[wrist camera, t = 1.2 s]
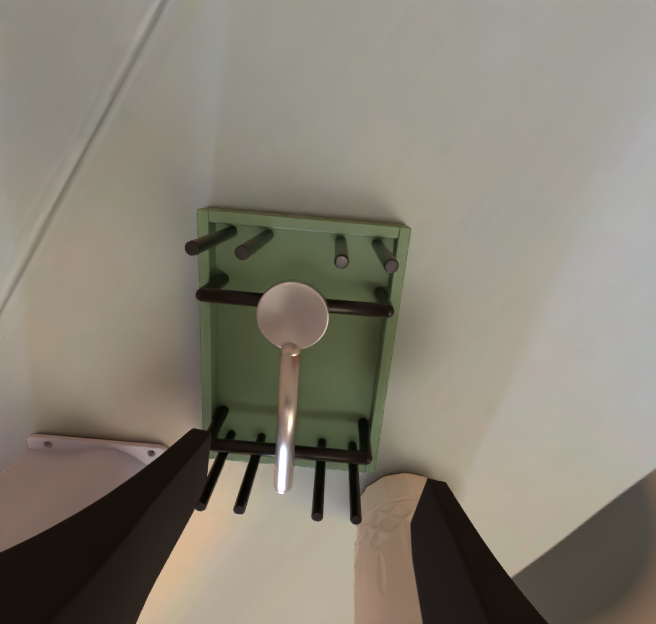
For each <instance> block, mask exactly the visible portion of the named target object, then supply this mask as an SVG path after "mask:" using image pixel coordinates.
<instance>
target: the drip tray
mask: <svg viewBox="0 0 656 624" xmlns="http://www.w3.org/2000/svg"><path fill="white" fill-rule="evenodd" d="M197 225H198V238H200V237H202V236H205V235H208V234H211V233H213V232H216V231H219V230H222V229H224V228H227V227H230V226H233V227H235V228H236V229H237V235H236V236H235V237H233V238H231V239H229V240H227V241H225V242H223V243H221V244H219V245H217V246H215V247H212V248H210V249H208V250H206V251H204V252H202V253H200V254H198V263H199V288H201V287H202V286H203V285H205V284H206V283H207V282H209V281H210V280H212V279H213V278H214V277H216V276H217V275H218V274H220V273H225V274H227V275H228V277H229V282H228V283H227V284H226V285H225V286H224V287H223V288H222V289H224V290H235V291H247V292H258V293H265V291H266V290H267V289H268V288H269V287H270V286H272V285H273V284H275V283H277V282H279V281H282V280H286V279H299V280H303V281H306V282H308V283H310V284H312V285H314V286H315V287H316V288H318V289H319V290H320V291H321V293H322V294H323V295H324V297H325V298H326V299H337V300H349V301H360V302H372V303H377V302H376V299H375V296H374V291H375V289H376V288H378V287H383V288H384V289H385V290H386V292H387V294H388V296H389V299H390V301H391V303H392V305H393V307H394V311H395V312H394V315H393V316H392V317H391V318H378V317H367V316H355V315H344V314H333V313H329V322H328V326H327V329H326V331H325V333H324V335H323V336H322V337H321V338H320V340H319V341H317V342H316V343H315V344H313V345H312V346H310V347H307V348H304V349H301V360H300V375H299V390H298V405H297V420H296V435H295V445H301V446H312V447H317V443H318V440H319V439H325V440H326V442H327V445H326V448H335V449H346V450H348V443H349V442H351V441H354V442H356V444H357V450H358V451H360V448H359V436H358V423H357V422H358V420H359V419H360V418H366V419H367V420H368V423H369V431H370V439H371V447H372V455H373V460H372V462H371V463H370V464H368V465H364V464H358V469H359V472H366V473H374V471H375V465H376V458H377V451H378V445H379V438H380V432H381V425H382V418H383V412H384V405H385V399H386V392H387V385H388V379H389V372H390V365H391V359H392V352H393V346H394V339H395V332H396V326H397V319H398V313H399V306H400V299H401V293H402V286H403V279H404V273H405V266H406V260H407V253H408V246H409V240H410V233H411V228H410V227H408V226H406V225H404V224H392V223H381V222H369V221H358V220H347V219H335V218H324V217H313V216H301V215H290V214H279V213H267V212H256V211H245V210H233V209H222V208H211V207H208V208H202V209H197ZM265 230H271V231H272V232H273V234H274V237H273V239H272V240H270V241H269V242H268V243H267V244H265V245H264V246H263V247H262V248H260V249H259V250H258V251H256V252H255V253H254V254H253V255H251V256H250V257H249V258H247V259H246V260H239V259H238V258H237V257H236V256H235V249H236V248H237V247H238V246H239V245H241V244H243V243H244V242H246V241H248V240H250V239H251V238H253V237H255V236H256V235H258V234H260V233H261V232H263V231H265ZM339 236H343V237H345V238H346V242H347V249H348V256H349V265H348V266H347V267H346V268H344V269H339V268H337V267H336V266H335V264H334V257H335V241H336V238H337V237H339ZM376 239H379V240H381V241H382V242H383V244H384V245H385V246H386V247H387V249H388V250H389V251H390V252H391V254H392V255H393V256H394V257H395V259H396V260H397V261H398V263H399V268H398V270H397V271H396V272H395V273H388V272H386V271H385V269H384V267H383V266H382V264H381V262H380V260H379V258H378V257H377V255H376V253H375V251H374V249H373V248H372V242H373V241H374V240H376ZM199 302H200V301H199ZM256 313H257V307H253V306H242V305H230V304H219V303H208V302H200V340H201V378H202V417H203V430H205V431H207V429H208V427H209V425H210V423H211V421H212V420H213V418H214V416H215V414H216V412H217V410H218V409H219V407H220V406H227V407H228V409H229V413H228V415H227V417H226V419H225V421H224V423H223V425H222V427H221V429H220V432H219V434H218V436H217V438H221V439H225V437H226V434H227V432H228V431H230V430H232V431H234V432H235V433H236V437H235V439H234V440H244V441H256V438H257V435H258V434H259V433H264V434H265V435H266V440H265V442H267V443H276V431H277V410H278V389H279V368H280V350H281V347H278V346H276V345H274V344H273V343H271V342H270V341H269V340H268V339H267V338H266V337H265V336H264V335H263V333H262V332H261V330H260V328H259V326H258V322H257V315H256ZM217 454H218V452H216V451H210V453H209V459H216V456H217ZM250 457H251V454H239V453H229V454H228V456H227V458H226V460H228V461H240V462H249V460H250ZM259 463H263V464H274V465H275V457H273V456H262V455H261V457H260V461H259ZM293 466H297V467H308V468H315V466H316V460H307V459H296V458H294V465H293ZM325 469H331V470H342V471H349V468H348V463H342V462H330V461H326V466H325Z"/></svg>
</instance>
